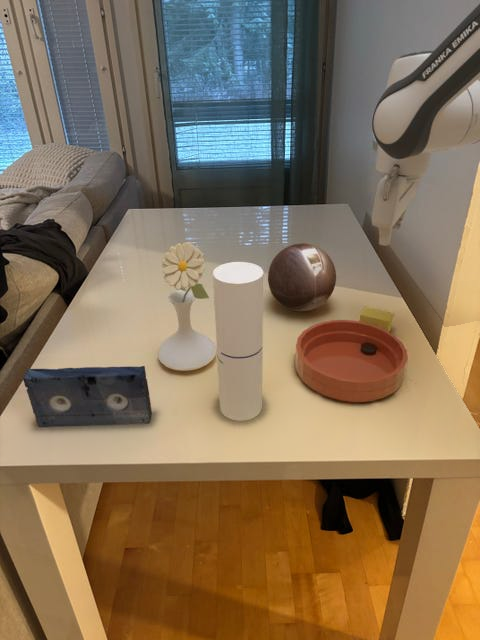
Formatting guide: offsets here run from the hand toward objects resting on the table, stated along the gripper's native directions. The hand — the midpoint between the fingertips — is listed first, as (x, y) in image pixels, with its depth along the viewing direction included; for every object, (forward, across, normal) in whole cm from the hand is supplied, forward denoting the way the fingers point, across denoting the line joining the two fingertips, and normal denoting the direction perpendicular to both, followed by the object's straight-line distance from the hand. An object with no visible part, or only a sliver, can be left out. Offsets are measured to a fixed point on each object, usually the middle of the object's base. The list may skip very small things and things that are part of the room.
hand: (390, 235), depth 88 cm
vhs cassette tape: (+21, -48, +34) cm, 62 cm away
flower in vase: (+21, -27, +29) cm, 45 cm away
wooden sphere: (+21, +2, +18) cm, 28 cm away
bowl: (+21, -16, +1) cm, 26 cm away
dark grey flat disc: (+20, -10, -1) cm, 22 cm away
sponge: (+21, 0, 0) cm, 21 cm away
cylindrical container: (+21, -34, +14) cm, 42 cm away
